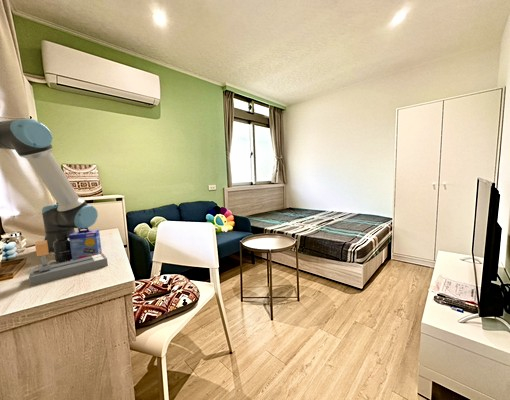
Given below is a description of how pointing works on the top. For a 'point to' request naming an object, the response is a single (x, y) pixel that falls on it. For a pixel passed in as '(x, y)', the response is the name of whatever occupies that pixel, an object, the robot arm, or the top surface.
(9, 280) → the top surface
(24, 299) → the top surface
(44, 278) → the fader console
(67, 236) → the supplement bottle
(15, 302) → the top surface
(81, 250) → the ink cartridge box
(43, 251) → the fader
